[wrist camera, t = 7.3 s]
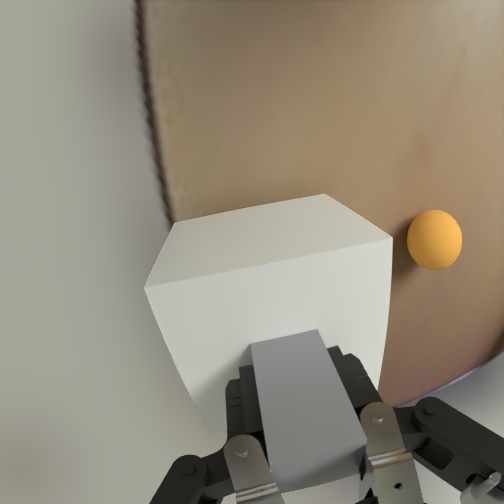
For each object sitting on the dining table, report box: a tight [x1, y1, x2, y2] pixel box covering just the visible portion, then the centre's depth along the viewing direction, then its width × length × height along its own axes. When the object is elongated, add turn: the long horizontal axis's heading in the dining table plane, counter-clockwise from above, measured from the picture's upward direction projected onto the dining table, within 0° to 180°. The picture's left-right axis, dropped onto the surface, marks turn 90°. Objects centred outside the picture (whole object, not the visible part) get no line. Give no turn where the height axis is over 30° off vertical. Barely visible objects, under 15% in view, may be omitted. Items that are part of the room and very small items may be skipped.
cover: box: [143, 194, 393, 493], centre depth 14 cm, size 10×10×15 cm
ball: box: [407, 210, 462, 270], centre depth 21 cm, size 5×5×5 cm
